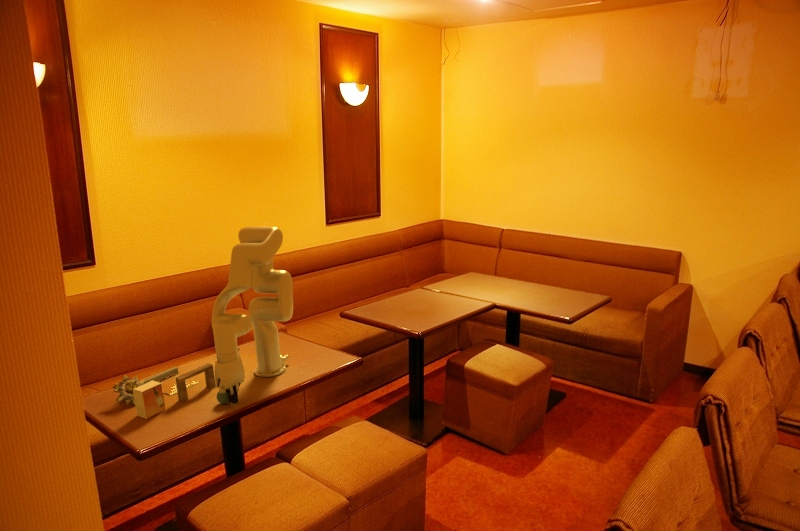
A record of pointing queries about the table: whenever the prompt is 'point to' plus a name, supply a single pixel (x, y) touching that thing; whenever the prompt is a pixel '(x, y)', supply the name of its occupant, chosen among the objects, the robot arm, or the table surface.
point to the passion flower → (127, 388)
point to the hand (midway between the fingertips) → (233, 402)
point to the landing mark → (186, 387)
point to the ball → (222, 398)
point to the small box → (149, 399)
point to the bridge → (181, 379)
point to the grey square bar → (162, 375)
